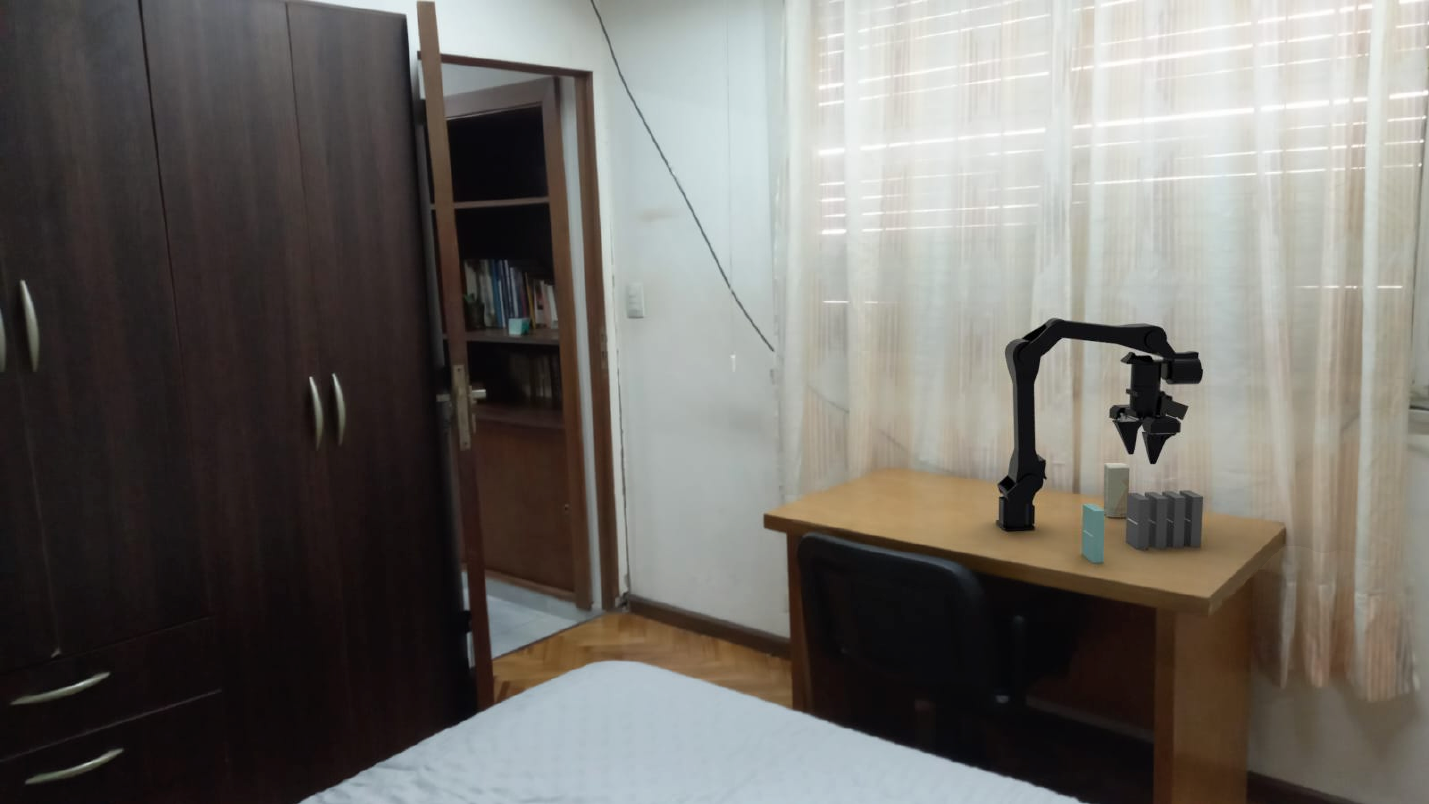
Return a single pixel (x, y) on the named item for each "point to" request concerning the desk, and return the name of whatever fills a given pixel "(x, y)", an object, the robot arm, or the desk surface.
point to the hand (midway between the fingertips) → (1141, 459)
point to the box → (1116, 489)
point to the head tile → (1093, 533)
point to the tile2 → (1137, 521)
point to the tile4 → (1175, 519)
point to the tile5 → (1192, 518)
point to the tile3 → (1157, 520)
